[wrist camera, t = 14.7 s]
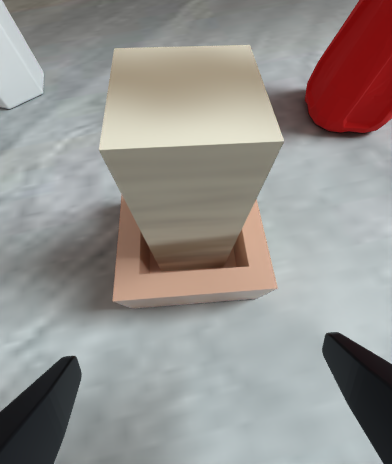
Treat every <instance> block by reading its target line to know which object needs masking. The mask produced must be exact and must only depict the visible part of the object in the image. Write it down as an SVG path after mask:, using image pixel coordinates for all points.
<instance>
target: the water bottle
mask: <svg viewBox="0 0 392 464" xmlns="http://www.w3.org/2000/svg"><path fill="white" fill-rule="evenodd" d="M305 101H306V103H307V105H308V112H309V115H310V116H311V118H312V119H313V121H314V123H315V124H317V125H318V126H320V127H322V128H324V129H326V130H328V131H333V132H347V131H350V132H359V133H366V132H371V131H376V130H378V129H379V128H380V127H382V126H383V125H384V124H386V123H387V122H388V121H389V120H391V119H392V0H359V2H358V3H357V5H356V6H355V8H354V9H353V11H352V12H351V14H350V15H349V17H348V18H347V20H346V21H345V23H344V24H343V26H342V27H341V29H340V30H339V32H338V33H337V35H336V36H335V37H334V39H333V40H332V42H331V43H330V45H329V46H328V48H327V49H326V51H325V52H324V54H323V55H322V57H321V58H320V60H319V61H318V63H317V65H316V67H315V69H314V71H313V73H312V75H311V77H310V79H309V81H308V83H307V88H306V95H305Z"/></svg>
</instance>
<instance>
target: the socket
mask: <svg viewBox="0 0 392 464" xmlns="http://www.w3.org/2000/svg"><path fill="white" fill-rule="evenodd" d="M275 289H277V283H276V279H275V275H274V271H273V267H272V262H271V258H270V254H269V250H268V246H267V241H266V237H265V233H264V229H263V225H262V220H261V216H260V212H259V208H258V204H257V199H256V201H255V203H254V205H253V207H252V209H251V211H250V213H249V215H248V217H247V219H246V221H245V223H244V226H243V228H242V230H241V232H240V234H239V236H238V238H237V240H236V242H235V244H234V246H233V248H232V250H231V252H230V255H229V257H228V259H227V261H226V263H225V265H224V267H214V268H201V269H188V270H175V271H161V269H160V268H159V266H158V264H157V262H156V260H155V258H154V256H153V254H152V252H151V250H150V248H149V246H148V244H147V242H146V240H145V238H144V237H143V235H142V233H141V231H140V229H139V227H138V225H137V223H136V221H135V219H134V217H133V215H132V213H131V211H130V209H129V207H128V206H127V204H126V202H125V200H124V198H123V196H121V208H120V220H119V231H118V243H117V255H116V267H115V279H114V290H113V302H116V303H118V304H121V305H124V306H126V307H129V308H132V309H135V308H147V307H160V306H172V305H184V304H197V303H209V302H222V301H234V300H246V299H258V298H260V297H262V296H264V295H266V294H268V293H270V292H272V291H273V290H275Z"/></svg>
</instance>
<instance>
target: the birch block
mask: <svg viewBox="0 0 392 464" xmlns="http://www.w3.org/2000/svg"><path fill="white" fill-rule="evenodd" d="M283 143H284V139H283V136H282V134H281V131H280V128H279V125H278V122H277V120H276V117H275V114H274V111H273V108H272V106H271V103H270V100H269V97H268V94H267V92H266V89H265V86H264V83H263V80H262V78H261V75H260V72H259V69H258V66H257V64H256V61H255V58H254V55H253V52H252V50H251V47H250V45H231V46H190V47H149V48H114V54H113V61H112V67H111V74H110V80H109V87H108V93H107V100H106V107H105V113H104V120H103V126H102V133H101V139H100V146H99V151H100V153H101V155H102V157H103V159H104V161H105V163H106V165H107V167H108V169H109V171H110V173H111V175H112V176H113V178H114V180H115V182H116V184H117V186H118V188H119V190H120V192H121V194H122V196H123V198H124V200H125V202H126V204H127V206H128V207H129V209H130V211H131V213H132V215H133V217H134V219H135V221H136V223H137V225H138V227H139V229H140V231H141V233H142V235H143V237H144V238H145V240H146V242H147V244H148V246H149V248H150V250H151V252H152V254H153V256H154V258H155V260H156V262H157V264H158V266H159V268H160V269H161V271H175V270H188V269H201V268H214V267H224V265H225V263H226V261H227V259H228V257H229V255H230V252H231V250H232V248H233V246H234V244H235V242H236V240H237V238H238V236H239V234H240V232H241V230H242V228H243V226H244V223H245V221H246V219H247V217H248V215H249V213H250V211H251V209H252V207H253V205H254V203H255V201H256V199H257V197H258V194H259V192H260V190H261V188H262V186H263V184H264V182H265V180H266V178H267V176H268V174H269V172H270V170H271V168H272V166H273V163H274V161H275V159H276V157H277V155H278V153H279V151H280V149H281V147H282V145H283Z"/></svg>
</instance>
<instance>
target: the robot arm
mask: <svg viewBox="0 0 392 464" xmlns="http://www.w3.org/2000/svg"><path fill="white" fill-rule="evenodd" d="M322 352H323V356H324V358H325V360H326V362H327V364H328V366H329V368H330V370H331V372H332V374H333V376H334V378H335V380H336V382H337V384H338V386H339V388H340V390H341V392H342V394H343V396H344V398H345V400H346V402H347V404H348V405H349V407H350V409H351V411H352V412H353V414H354V416H355V417H356V419H357V420H358V422H359V424H360V425H361V427H362V429H363V430H364V432H365V434H366V435H367V437H368V439H369V440H370V442H371V444H372V445H373V447H374V449H375V450H376V452H377V454H378V455H379V457H380V459H381V460H382V462H383V464H392V364H391V363H389V362H388V361H386V360H384V359H382V358H381V357H379V356H377V355H376V354H374V353H372V352H371V351H369V350H367V349H366V348H364V347H362V346H361V345H359V344H357V343H356V342H354V341H352V340H351V339H349V338H347V337H346V336H344V335H342V334H340V333H338V332H331V333H326V335H325V338H324V343H323V348H322ZM81 375H82V374H81V369H80V366H79V363H78V360H77V357H76V356H66V357H62V358H61V359H60V360H59V361H57V362H56V363H55V364H54V365H53V366H52V367H51V368H49V369H48V370H47V371H46V372H45V373H44V374H43V375H42V376H40V377H39V378H38V379H37V380H36V381H35V382H34V383H33V384H31V385H30V386H29V387H28V388H27V389H26V390H25V391H23V392H22V393H21V394H20V395H19V396H18V397H17V398H16V399H14V400H13V401H12V402H11V403H10V404H9V405H8V406H7V407H5V408H4V409H3V410H2V411H1V412H0V464H54V462H55V459H56V456H57V454H58V451H59V449H60V446H61V443H62V441H63V438H64V435H65V432H66V429H67V426H68V422H69V419H70V415H71V412H72V409H73V405H74V402H75V398H76V395H77V391H78V388H79V385H80V381H81Z"/></svg>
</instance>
